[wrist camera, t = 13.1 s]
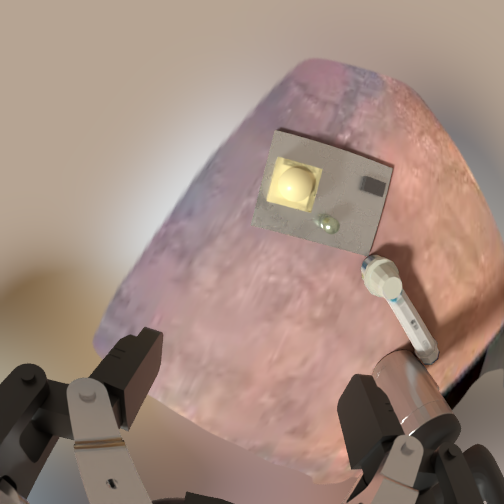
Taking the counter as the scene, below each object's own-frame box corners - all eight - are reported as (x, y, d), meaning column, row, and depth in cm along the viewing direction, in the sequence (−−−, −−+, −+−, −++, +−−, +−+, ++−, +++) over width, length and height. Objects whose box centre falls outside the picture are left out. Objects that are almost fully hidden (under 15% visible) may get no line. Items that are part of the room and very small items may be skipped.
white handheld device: (424, 372, 38) (370, 290, 31) (409, 350, 44) (351, 268, 37) (446, 353, 37) (401, 262, 30) (429, 333, 43) (378, 244, 36)
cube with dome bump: (313, 171, 34) (323, 168, 27) (303, 207, 35) (311, 213, 29) (275, 160, 34) (278, 156, 27) (266, 197, 35) (266, 201, 29)
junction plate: (389, 168, 34) (409, 167, 28) (365, 254, 37) (381, 267, 31) (274, 131, 34) (276, 121, 28) (251, 224, 37) (248, 232, 31)
